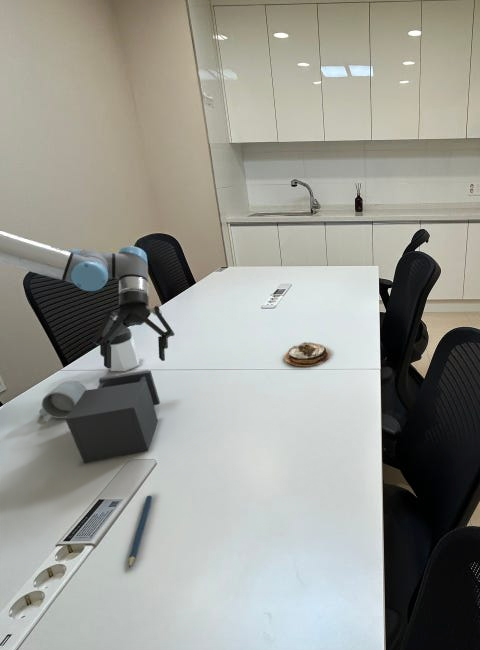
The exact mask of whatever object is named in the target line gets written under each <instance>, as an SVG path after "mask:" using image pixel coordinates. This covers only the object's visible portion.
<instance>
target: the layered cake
mask: <svg viewBox="0 0 480 650" xmlns="http://www.w3.org/2000/svg"><path fill="white" fill-rule="evenodd" d="M330 356H331V353H330V350H328V349H327V348H326V347H325V346H324V345H323V344H320V343H315V342H307V341H304V342H302V343H300V344H299V343H298V345H297V344H296V345H294V346H292V347H290V348H289V349H288V351H287V352H286V353H285V355H284V361H285V362H286V363H288V364H289V365H292V366H294V367H295V366H296V367H314V366H317V365H320V364H322V363H325V362H326V361H327V360H329V358H330Z"/></svg>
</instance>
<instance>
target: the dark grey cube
mask: <svg viewBox="0 0 480 650" xmlns="http://www.w3.org/2000/svg"><path fill="white" fill-rule="evenodd" d="M64 419H65V421H66V422H65V423H66V424H67V427H68V429H69V431H70V433H71V436H72V438H73V441H74V443H75V445H76V448H77V450H78V452H79V455H80V457H81V460H82V462H83V464H88V463H92V462H97V461H102V460H107V459H112V458H117V457H118V458H119V457H122V456H123V457H124V456H128V455H133V454H138V453H142V452H148V451H149V450H150V447H151V443H152V440H153V437H154V434H155V432H156V428H157V425H158V422H159V419H158V417H157V413H156V409H155V405H154V406H153V403H152V400H151V396H150V393H149V390H148V387H147V383H146V381H142V382H136V383H129V384H123V385H117V386H110V387H104V388H98V387H97V388H92V389H87V390H85V392H84V393H83V395H82V396H81V397H80V399H79V400H78V402H77V403H76V405H75V406H74V407H73V409H72V410H71V412H70V413H69V415H68V416H67V417H66V418H64Z"/></svg>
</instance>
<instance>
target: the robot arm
mask: <svg viewBox="0 0 480 650" xmlns="http://www.w3.org/2000/svg"><path fill="white" fill-rule="evenodd" d="M0 264H1V265H5V266H8V267H11V268H16V269H20V270H22V271H26V272H30V273H35V274H38V275H41V276H45V277H49V278H52V279H56V280H60V281H64V282H67V283H70V284H74V285H75V286H76V287H77V288H79V289H80V290H83V291H87V292H96V291H99V290H101V289H102V288H104V287H105V285H106V284H107V282H108V281H109V279H112V280H114V279H116V280H118V311H117V312H112V311H110V310H107V311H106V312H105V317H104V320H103V322H102V323H101V325H100V326H99V328H98V330H97V332H96V333H95V335H94V336H93V338H92V339H91V342H92V343H94V344H95V345H96V346H100V347H99V350H100V351H99V354H100V356H101V357H103V366H104V367H105V368H106V369H110V368H111V346H110V345H109V344H110V343H111V342H112V341H113V339H114V338H115V337H116V336H117V335H118V334H119V333H120V332H121V331H122V330H123V329H125V328H128V326H129V327H134V326H143V324H146V325H147V326H148V327H149V328H151V329H152V330H153V331H154V332H155V333H156V334H158V335H159V336H158V337H157V341H158V342H157V343H158V358H159V360H160V361H161V362H164V361H166V355H165V354H166V352H165V351H166V349H168V348H169V338H171V337H174V336H175V332H174V331H173V329H172V328H171V326H170V324H169V323H168V322H167V320H166V319H165V318H164V316H163V313H162V309H161V308H160V307H159V306H158V305H155V306H154V307H153V308H150V297H149V263H148V256H147V253H146V252H145V251H144V250H143V249H142V248H140V247H138V246H132V245H130V246H123V247H120V249H119V250H118V253H116V252H115V253H113V252H103V251H93V250H86V249H70V250H64V249H62V248H59V247H55V246H52V245H49V244H46V243H43V242H39V241H36V240H32V239H29V238H26V237H23V236H20V235H16V234H13V233H10V232H8V231H4V230H0ZM151 314H152V315H153V316H156V317H157V319H158V320H159V321H160V323H161V324H162V326H163V327H164V329H165V330H166V331H164V330H162V328H161V327H159V326H158V325H156V323H154V322H153V321H152V320H151V319H150V318H149V317H150V316H151ZM117 318H118V320H117ZM114 321H116V323H115V324H114ZM113 324H114V325H113ZM112 325H113V326H112ZM110 329H111V330H110ZM109 330H110V331H109ZM108 331H109V332H108Z"/></svg>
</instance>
